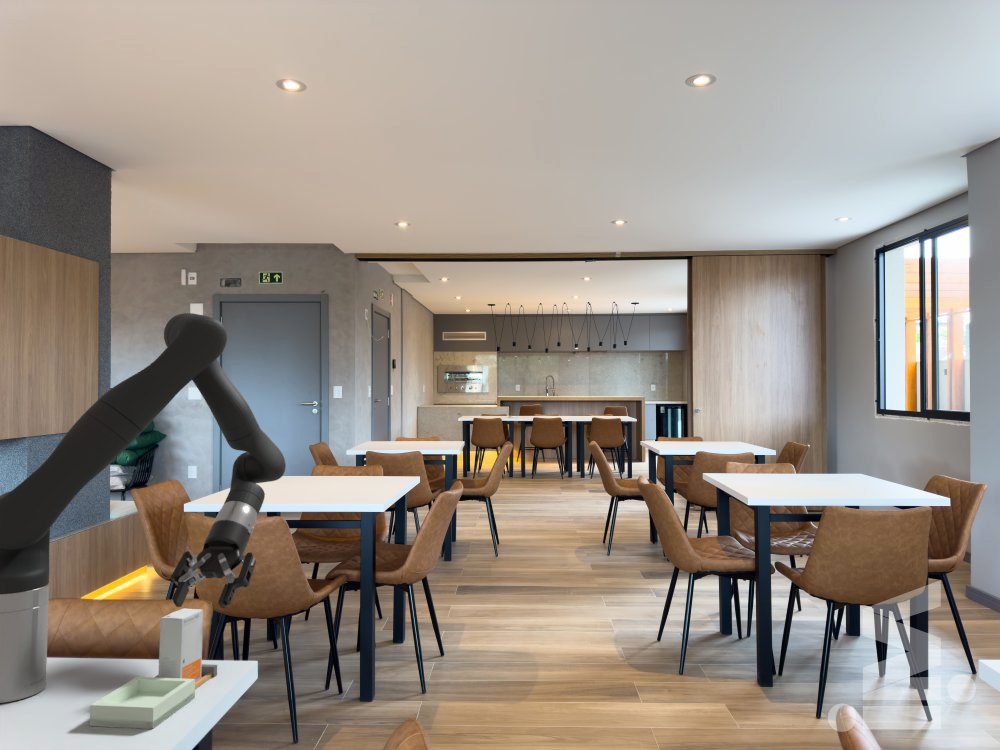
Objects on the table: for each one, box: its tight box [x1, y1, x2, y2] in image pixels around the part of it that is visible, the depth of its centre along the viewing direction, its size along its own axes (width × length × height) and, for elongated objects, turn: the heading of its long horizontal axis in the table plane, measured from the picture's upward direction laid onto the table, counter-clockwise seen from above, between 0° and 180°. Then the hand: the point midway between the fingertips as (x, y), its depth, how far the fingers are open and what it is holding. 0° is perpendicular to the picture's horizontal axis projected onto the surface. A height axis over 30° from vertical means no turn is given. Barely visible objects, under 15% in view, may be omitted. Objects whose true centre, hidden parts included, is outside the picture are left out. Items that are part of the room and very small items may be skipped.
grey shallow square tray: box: [155, 663, 218, 690], centre depth 116 cm, size 8×9×2 cm
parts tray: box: [89, 676, 196, 730], centre depth 106 cm, size 10×11×3 cm
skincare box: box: [157, 607, 204, 682], centre depth 117 cm, size 6×4×12 cm
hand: (199, 605), depth 122 cm, fingers open, 8 cm apart
